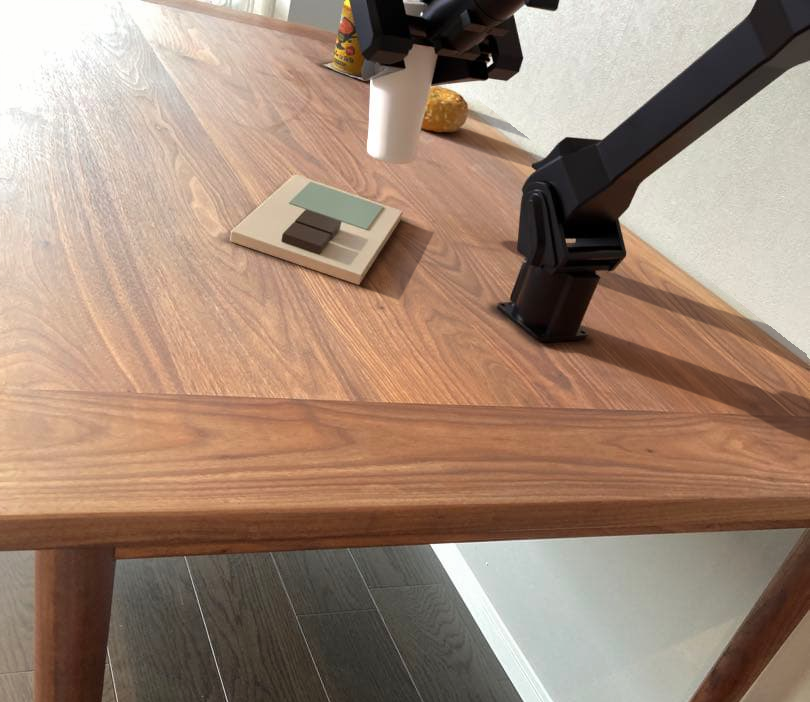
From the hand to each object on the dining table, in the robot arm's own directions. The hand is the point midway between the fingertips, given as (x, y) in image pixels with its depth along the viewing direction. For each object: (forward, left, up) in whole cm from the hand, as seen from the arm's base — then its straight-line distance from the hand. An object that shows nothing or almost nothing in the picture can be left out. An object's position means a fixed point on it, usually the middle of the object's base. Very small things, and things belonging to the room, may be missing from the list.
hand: (390, 79), depth 94 cm
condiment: (+48, -28, -12) cm, 57 cm away
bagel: (+26, -27, -12) cm, 40 cm away
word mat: (-10, +11, -12) cm, 19 cm away
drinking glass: (-2, -1, -7) cm, 8 cm away
